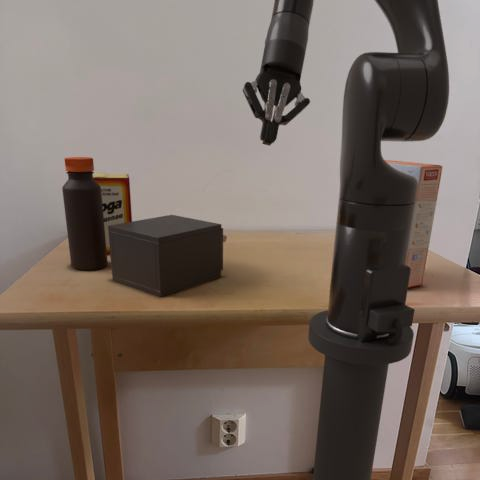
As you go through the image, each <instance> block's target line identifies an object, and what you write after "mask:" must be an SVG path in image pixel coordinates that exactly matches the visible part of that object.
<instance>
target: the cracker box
mask: <svg viewBox="0 0 480 480" xmlns="http://www.w3.org/2000/svg"><path fill="white" fill-rule="evenodd" d="M384 160H385V161H386V162H387V163H388V164H389V165H390V166H392V167H393V168H395V169H397V170H399V171H402V172H404V173H407V174H409V175H411V176H413V177H415V178H416V179H417V182H418V191H417V198H416V202H415V209H414V216H413V222H412V227H411V234H410V240H409V247H408V253H407V259H406V265H407V266H409V267H410V268H411V272H410V278H409V285H408V289H409V288H413V287H418V286H422V285H423V282H424V276H425V270H426V265H427V259H428V254H429V248H430V243H431V236H432V230H433V226H434V225H433V224H434V219H435V213H436V206H437V201H438V195H439V190H440V185H441V178H442V172H443V165H441V164H431V163H420V162H412V161H401V160H391V159H384Z"/></svg>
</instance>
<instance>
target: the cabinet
mask: <svg viewBox="0 0 480 480" xmlns="http://www.w3.org/2000/svg"><path fill="white" fill-rule="evenodd" d="M221 228H222V223H217V222H211V221H207V220H201V219H196V218H191V217H186V216H181V215H176V214H169V215H161V216H157V217H150V218H145V219H138V220H134V221H133V220H132V222H127V223H121V224H115V225H109V226H108V231H109V243H110V254H109V255H110V266H111V275H112V277H111V279H112V281H114V282H117V283H120V284H123V285H125V286H128V287H131V288H134V289H136V290H140V291H143V292H146V293H149V294H152V295H155V296H157V297H159V298H162V297H164V296H168V295H171V294H174V293H177V292H180V291H182V290H186V289H189V288H193V287H196V286H199V285H201V284H204V283H207V282H210V281H213V280H216V279H219V278H222V271H221Z"/></svg>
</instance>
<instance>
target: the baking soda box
mask: <svg viewBox="0 0 480 480" xmlns="http://www.w3.org/2000/svg"><path fill="white" fill-rule="evenodd" d="M93 179H94V180H95V181H96V182H97V183H98V184H99V185H100V187H101V194H102V205H103V217H104V228H105V240H106V251H107V255H110V243H109V231H108V226H109V225H115V224H121V223H127V222H133V215H132V214H133V213H132V200H131V199H132V198H131V183H130V182H131V181H130V176H129V173H106V172H96V173H95V172H94V173H93Z"/></svg>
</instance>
